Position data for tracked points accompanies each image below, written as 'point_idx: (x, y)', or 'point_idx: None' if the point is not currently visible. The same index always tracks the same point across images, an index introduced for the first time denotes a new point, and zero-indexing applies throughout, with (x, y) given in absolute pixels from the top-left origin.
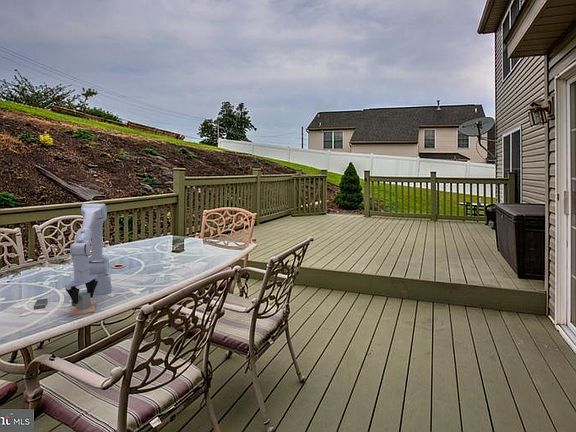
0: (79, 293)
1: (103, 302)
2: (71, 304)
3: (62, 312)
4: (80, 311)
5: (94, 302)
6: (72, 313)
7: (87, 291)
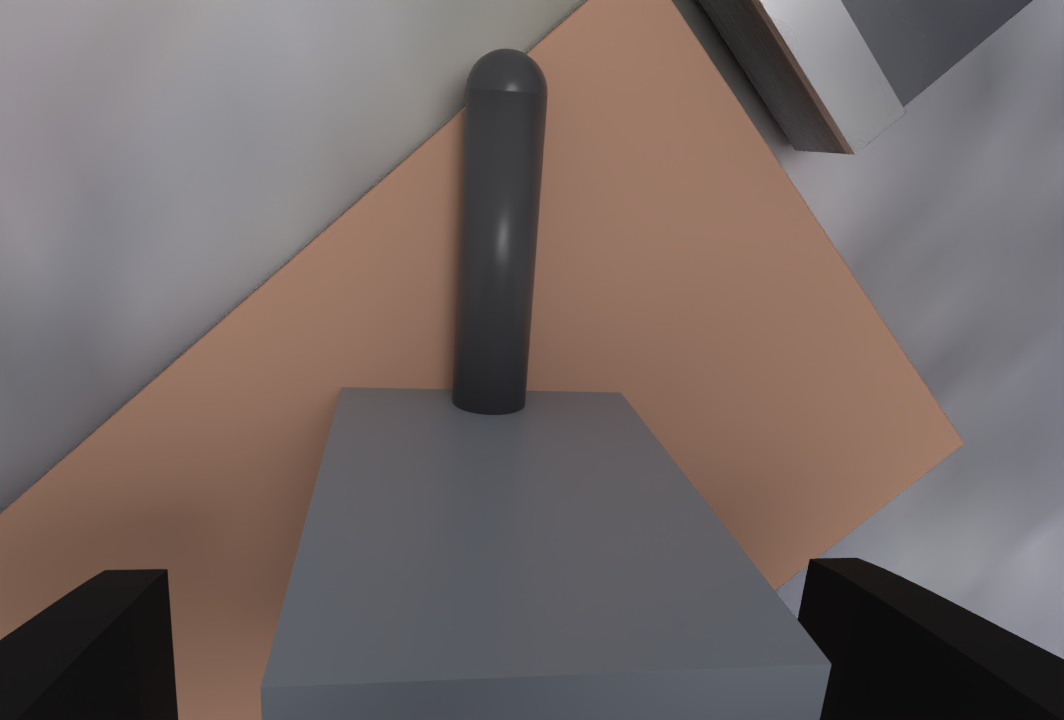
0: (551, 710)
1: (959, 576)
2: (468, 78)
3: (43, 137)
4: (212, 676)
5: (847, 507)
6: (5, 608)
7: (992, 700)
